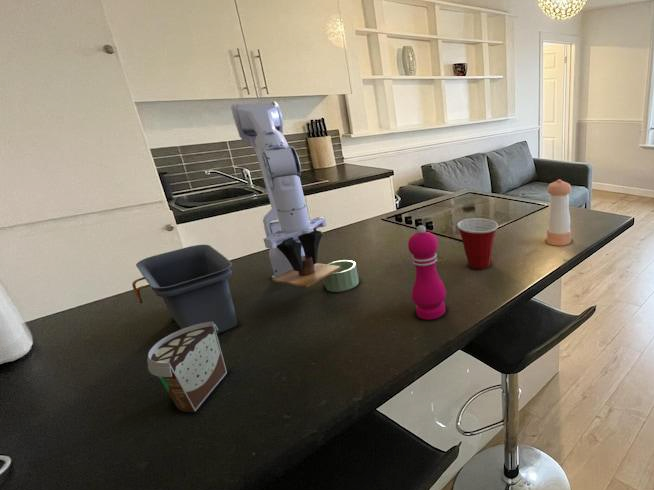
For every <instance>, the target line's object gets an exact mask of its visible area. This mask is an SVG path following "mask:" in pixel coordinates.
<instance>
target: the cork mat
mask: <svg viewBox="0 0 654 490" xmlns="http://www.w3.org/2000/svg"><path fill="white" fill-rule="evenodd" d="M301 258H302V263H303V271H301V272H300V271H294V269H291V270H289V271H287V272H285V273H283V274H281V275H279V276H277V277H275V278H271V281H272V282H275V283H280V284H285V285H290V286H291V285H292V286H297V287H302V288H310V287H311V286H313V285H314V284H316V283H318V282H320V281H321V280H324V279H323V278H325V277H326V276H328V275H330V274H332V273H333V272H335V271H337V270H339V269H340V268H341V267H340V266H334V265H328V264H329V263H328V264H327V263H320V262H317V263H316V264H314V263H313V259H312V256H310V255H305V256H301Z"/></svg>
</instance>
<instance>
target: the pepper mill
mask: <svg viewBox="0 0 654 490" xmlns="http://www.w3.org/2000/svg"><path fill="white" fill-rule="evenodd" d="M426 230H427V229H426V227H425V225H423V224H421V225H420V224H419V225H418V226H417V227H416V232H415V233H413V234H412V235H411V236H410V237H409V239H408V243H407V247H408V251H409V253H410V254H411V255H412V257H411V258H412V264H413V265H414V266H415V280H414V283H413V286H412V289H411V299H412V302H413V303H414V304H415V311H416V316H417V317H418V318H419V319H421V320H425V321H426V320H427V321H429V320H430V321H431V320H435V319H438V318H441V317H442V316H444V314H445V313H446V311H447V309H446V303H445V299H446V297H447V291H446V290H447V289H446V287H445V284H444V282H443V281H442V279H441V277H440V276H439V274H438V273H439V272H438V271H437V267H436V266H437V265H436V264H437V263H436V262H438V257H437V256H438V254H437V250H438V248H439V241H438V239H437V237H436V235H435V234H434V233H432V232H430V231H426Z"/></svg>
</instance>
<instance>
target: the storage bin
mask: <svg viewBox="0 0 654 490" xmlns="http://www.w3.org/2000/svg"><path fill="white" fill-rule="evenodd" d="M135 266H136V268H137V269H138V270H139V272H140V274H141V276H142V277H140V278H137V279H135V280H134V281H132V285H131V286H132V289H133V291H134V294H135V295H134V296H135V297H136V300H137V301H138V303H139V304H142V303H143V299H142V295H141V293H140V290H142V289H145V288H151V290H152V291H153V292H154V293H155V295H156V296H157V297H160V298H162V300H163V303H164V304H165V306H166V308H167V310H168V312H169V314H170V316H171V317H172V318H173V320H174V321H175V322H176V324H177V325H178V327H179V328H180V330H181V329H184V328H187V327H190V326H193V325H197V324H201V323H206V322H214V324H215V325H216V326H217V328H218V331H216V333H217V335H218V334H221V333H223V332H225V331H228V330H231V329H233V328H235V327H236V326H237V325H238V319H237V315H236V310H235V306H234V302H233V297H232V293H231V290H230V285H229V281H228V279H229V278H231V277H232V275H233V271H232V269H231V267H232V266H233V263H232V262H231V260H229V259H228V258H227V257H225V256H224V255H223V254H222V253H221V252H219V251H218V250H217V249H215V248H214V247H213V246H211V245H209V244H196V245H190V246H186V247H182V248H179V249H175V250H170V251H167V252H163V253H160V254H155V255H152V256H148V257H146V258H143V259H141V260H139V261H137V262H136V263H135ZM143 280H145V281H146V282H147V283H148V284H146V285H141V286H139V287H137V286H136V285H137V282H140V281H143Z"/></svg>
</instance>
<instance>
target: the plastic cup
mask: <svg viewBox="0 0 654 490" xmlns="http://www.w3.org/2000/svg"><path fill="white" fill-rule="evenodd" d="M456 227H457V228H458V230H459V233H460V237H461V241H462V244H463V249H464V253H465V256H466V261H467V264H468V266H469V267H470V268H471V269H473V270H483V269H486V268H489V267H490V266H491V262H492V261H491V260H492V255H493V247H494V240H495V236H496V231H497V230H498V229H499V223H497V222H496V221H495V220H492V219H489V218H482V217H473V218H472V217H471V218H465V219H462V220H459V221H458V222H457V224H456Z"/></svg>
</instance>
